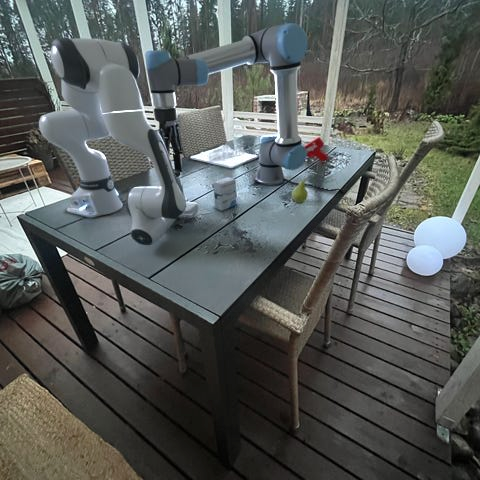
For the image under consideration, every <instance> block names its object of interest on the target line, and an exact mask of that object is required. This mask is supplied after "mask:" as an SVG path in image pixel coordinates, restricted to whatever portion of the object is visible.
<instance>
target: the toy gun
mask: <svg viewBox="0 0 480 480" xmlns="http://www.w3.org/2000/svg"><path fill="white" fill-rule="evenodd" d="M324 145H325V143H324V141H323V140H322V138H321V137H320V136H317V137H316V138H314V139H313V140H311V141H310V142H308V143H306V144H305V145H303V146H304V147H305V148H306V150H307V156H306V158H309V160H310V159H314V158H317V159H318V160H319V161H321V162H320V163H321V164H324V162H322V161H325V160H326V162H328V158H329V155H328V154H327V153H325V152H324V151H323V150H322V148H323V147H324Z"/></svg>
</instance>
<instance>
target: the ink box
mask: <svg viewBox="0 0 480 480" xmlns="http://www.w3.org/2000/svg"><path fill="white" fill-rule="evenodd" d="M212 183H213V197H214V208H216V209H218V210H220V211H224V210H225V211H226V210H227V209H229V208H232V207H234V206H236V205H237V190H236V189H237V186H236V185H237V184H236V179H235V178H232V177H229V176H227V177H223V178H220V179H217V180H215V181H213V182H212Z"/></svg>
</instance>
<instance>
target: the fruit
mask: <svg viewBox="0 0 480 480" xmlns="http://www.w3.org/2000/svg"><path fill="white" fill-rule="evenodd" d="M310 177H311V175H310V174H309V175H308V176H307V177H305V179H302V180H301V181H300V182H298V183H299V184H298V185H296V186H295V187H294V188H293V190H292V191H291V198H292V200H293V201H294V202H295V203H297V204H301V203H304V202H305V201H306V200H307V198H308V196H309V195H308V190H307V189H306V186H305V184H306V180H308V179H309V178H310Z"/></svg>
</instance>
